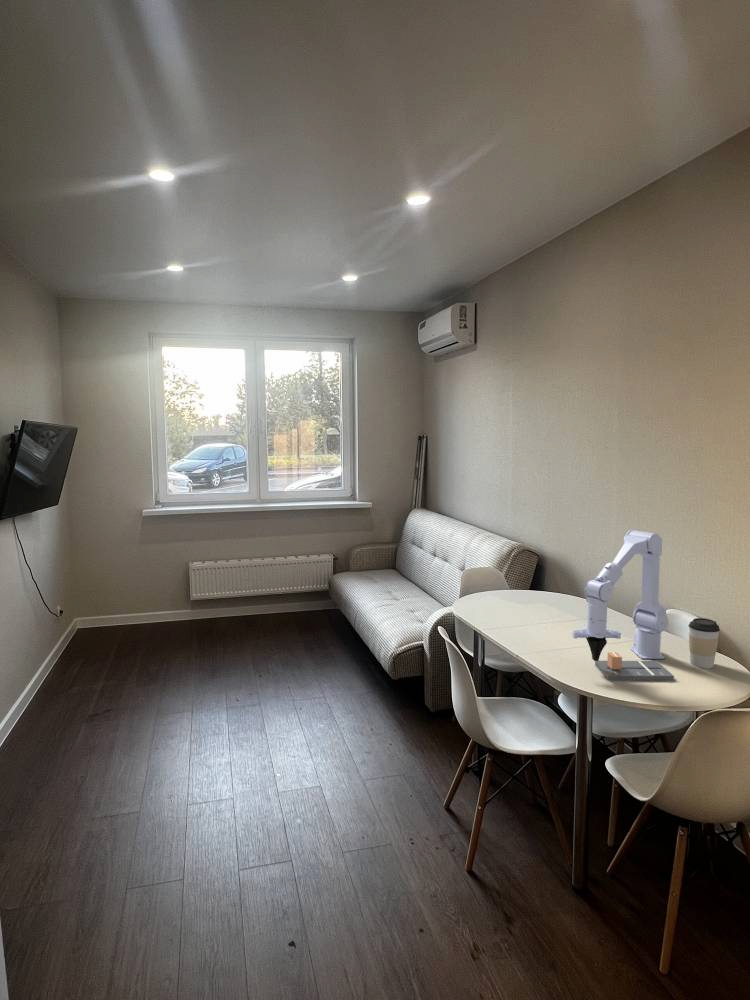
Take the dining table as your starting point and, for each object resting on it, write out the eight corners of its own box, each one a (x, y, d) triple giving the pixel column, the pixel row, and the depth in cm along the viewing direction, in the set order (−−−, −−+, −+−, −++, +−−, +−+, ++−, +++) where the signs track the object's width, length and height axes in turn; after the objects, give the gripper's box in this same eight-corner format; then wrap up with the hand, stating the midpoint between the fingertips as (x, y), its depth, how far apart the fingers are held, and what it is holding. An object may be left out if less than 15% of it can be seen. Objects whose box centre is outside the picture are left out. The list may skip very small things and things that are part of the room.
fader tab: (607, 664, 193) (607, 651, 192) (616, 664, 193) (617, 651, 192) (611, 669, 189) (612, 656, 188) (621, 669, 189) (622, 656, 188)
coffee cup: (684, 666, 196) (687, 621, 194) (688, 657, 203) (690, 614, 201) (716, 672, 191) (719, 626, 189) (718, 662, 198) (721, 618, 196)
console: (595, 665, 197) (595, 660, 197) (656, 665, 196) (657, 660, 196) (608, 680, 185) (608, 675, 185) (673, 680, 184) (674, 675, 184)
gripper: (577, 622, 185) (576, 664, 187) (625, 622, 185) (623, 664, 186) (570, 615, 192) (569, 655, 194) (616, 615, 192) (614, 656, 193)
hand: (595, 659), depth 191 cm, fingers closed
